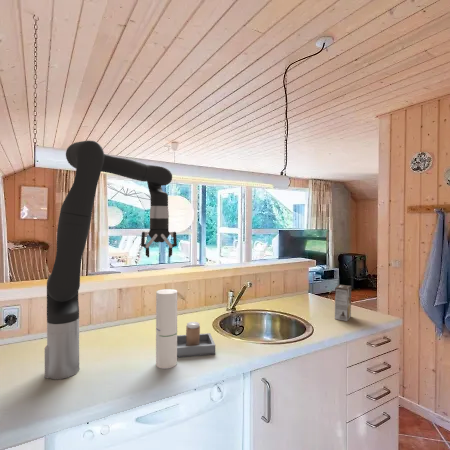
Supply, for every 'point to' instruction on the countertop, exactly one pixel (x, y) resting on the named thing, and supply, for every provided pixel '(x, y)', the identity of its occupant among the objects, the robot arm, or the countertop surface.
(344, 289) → the coffee box
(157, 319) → the cylindrical container
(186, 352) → the tray
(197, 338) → the shaker
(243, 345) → the countertop surface
